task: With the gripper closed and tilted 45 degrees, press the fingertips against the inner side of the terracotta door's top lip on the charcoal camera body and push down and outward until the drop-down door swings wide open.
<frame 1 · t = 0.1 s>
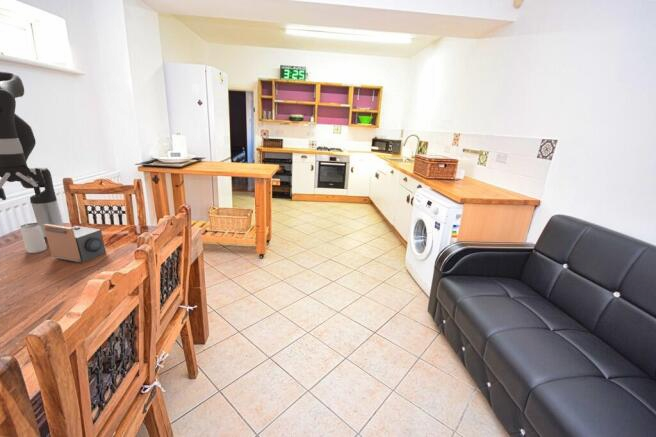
hand: (21, 198, 106), 29 cm above the table, tool pointing down, fingers open, 8 cm apart
side door: (61, 243, 120), point 8 cm above the table, hinge at 0.0°
can: (37, 250, 132), on the table
camera body: (82, 255, 129), on the table
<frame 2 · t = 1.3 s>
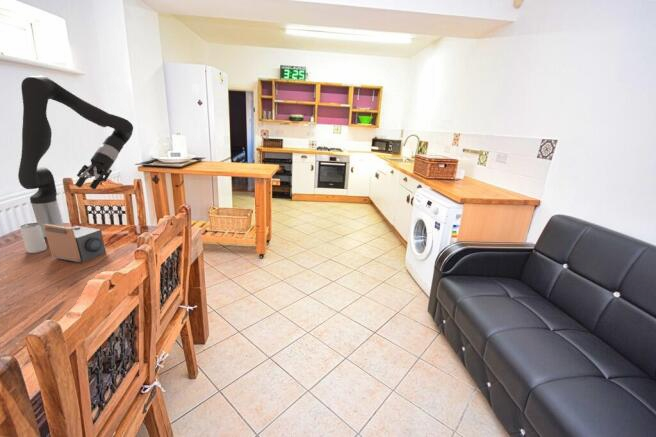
hand: (84, 187, 127), 29 cm above the table, tool tilted 45°, fingers open, 7 cm apart
nothing on the table moved.
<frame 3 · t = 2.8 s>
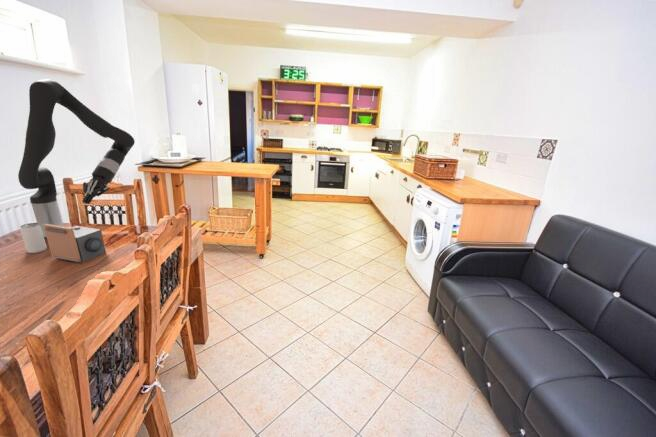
hand: (85, 203, 127), 22 cm above the table, tool tilted 45°, fingers closed
nothing on the table moved.
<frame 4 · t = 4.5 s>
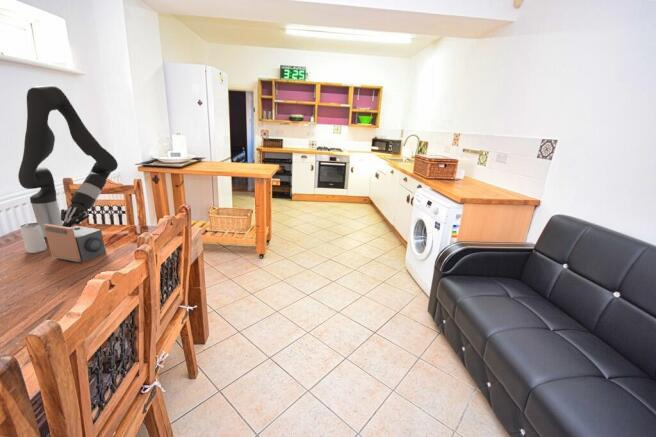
hand: (62, 232, 120), 13 cm above the table, tool tilted 45°, fingers closed
side door: (61, 243, 120), point 8 cm above the table, hinge at 0.0°, touching gripper
everything else where it was.
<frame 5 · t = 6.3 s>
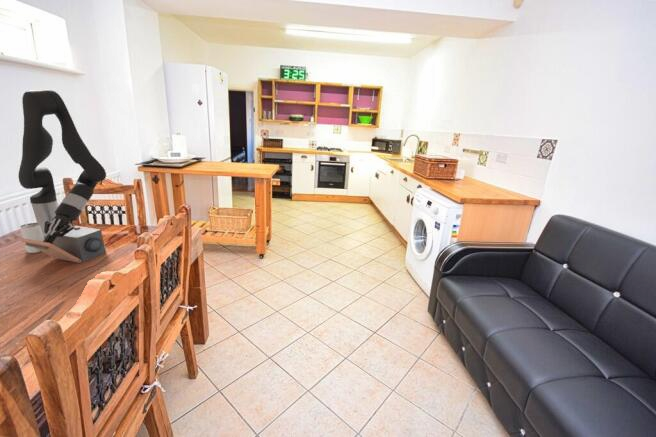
hand: (45, 245, 115), 10 cm above the table, tool tilted 45°, fingers closed
side door: (52, 251, 117), point 6 cm above the table, hinge at 38.1°, touching gripper
everything else where it was.
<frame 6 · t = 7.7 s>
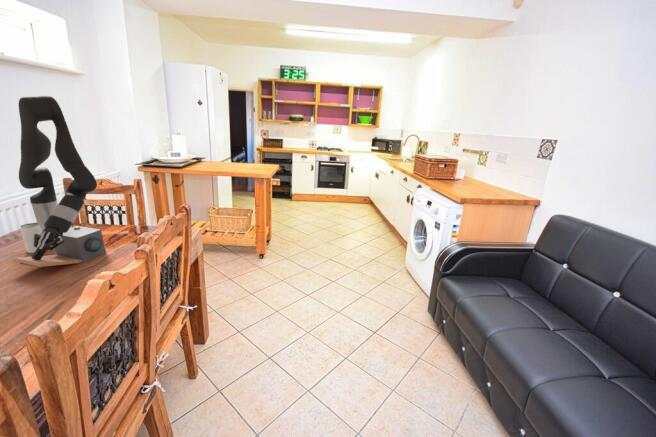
hand: (35, 259, 112), 6 cm above the table, tool tilted 45°, fingers closed
side door: (49, 261, 117), point 3 cm above the table, hinge at 70.0°, touching gripper
everything else where it was.
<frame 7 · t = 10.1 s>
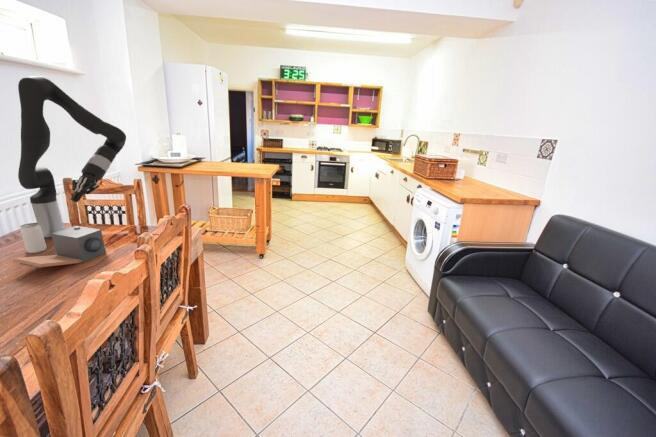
hand: (73, 201, 123), 24 cm above the table, tool tilted 45°, fingers closed
side door: (49, 261, 117), point 3 cm above the table, hinge at 70.6°
everything else where it was.
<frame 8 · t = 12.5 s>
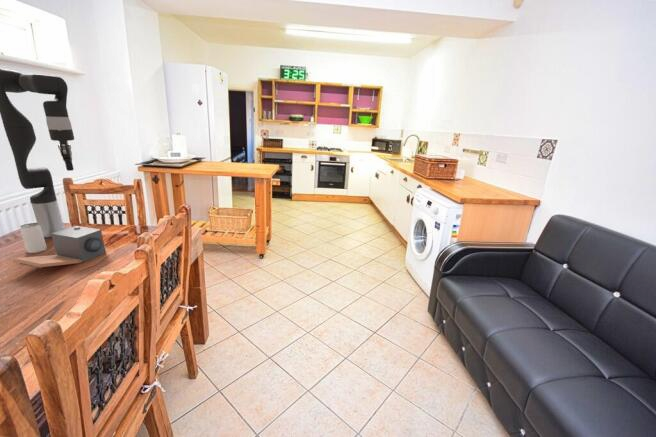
hand: (70, 170, 128), 35 cm above the table, tool pointing down, fingers closed
nothing on the table moved.
at the end: side door at +71° (first picture: +0°); can moved 0.2 cm from its start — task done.
